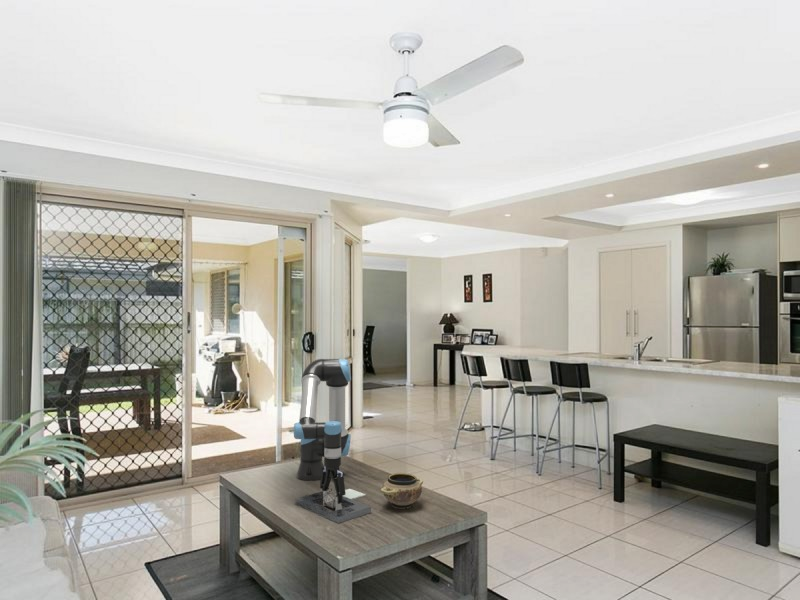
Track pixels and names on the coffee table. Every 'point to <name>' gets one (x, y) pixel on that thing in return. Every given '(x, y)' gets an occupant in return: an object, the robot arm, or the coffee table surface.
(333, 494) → the game die
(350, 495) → the pale green flat panel
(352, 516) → the dark grey rectangular frame
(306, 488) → the coffee table surface
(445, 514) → the coffee table surface
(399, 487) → the ceramic bowl
